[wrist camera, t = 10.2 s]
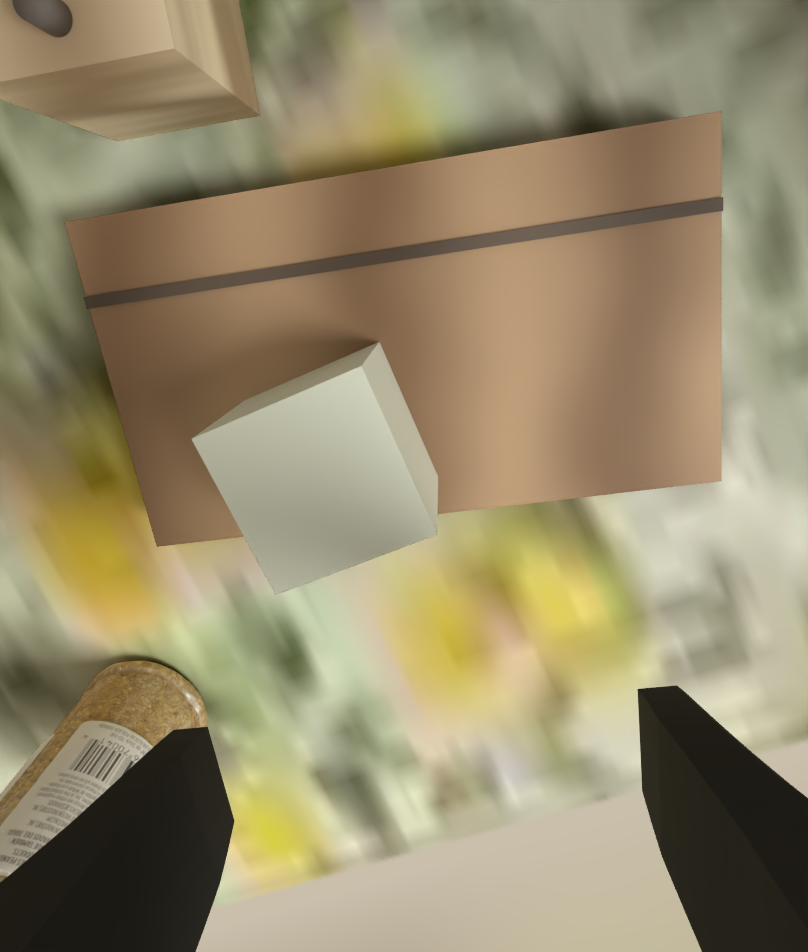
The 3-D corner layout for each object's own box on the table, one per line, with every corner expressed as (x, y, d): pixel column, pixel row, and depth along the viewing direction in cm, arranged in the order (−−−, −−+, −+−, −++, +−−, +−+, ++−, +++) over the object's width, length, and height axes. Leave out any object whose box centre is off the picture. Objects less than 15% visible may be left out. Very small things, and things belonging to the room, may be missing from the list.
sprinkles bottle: (62, 689, 24) (-380, 1193, 11) (160, 633, 23) (-199, 1114, 10) (142, 779, 25) (-175, 1333, 12) (238, 729, 24) (5, 1274, 11)
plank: (690, 127, 17) (723, 110, 15) (694, 459, 20) (722, 482, 18) (103, 225, 19) (62, 221, 17) (182, 520, 21) (155, 547, 19)
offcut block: (379, 341, 17) (361, 365, 13) (438, 477, 18) (436, 534, 14) (244, 400, 18) (191, 438, 14) (308, 527, 19) (275, 595, 15)
